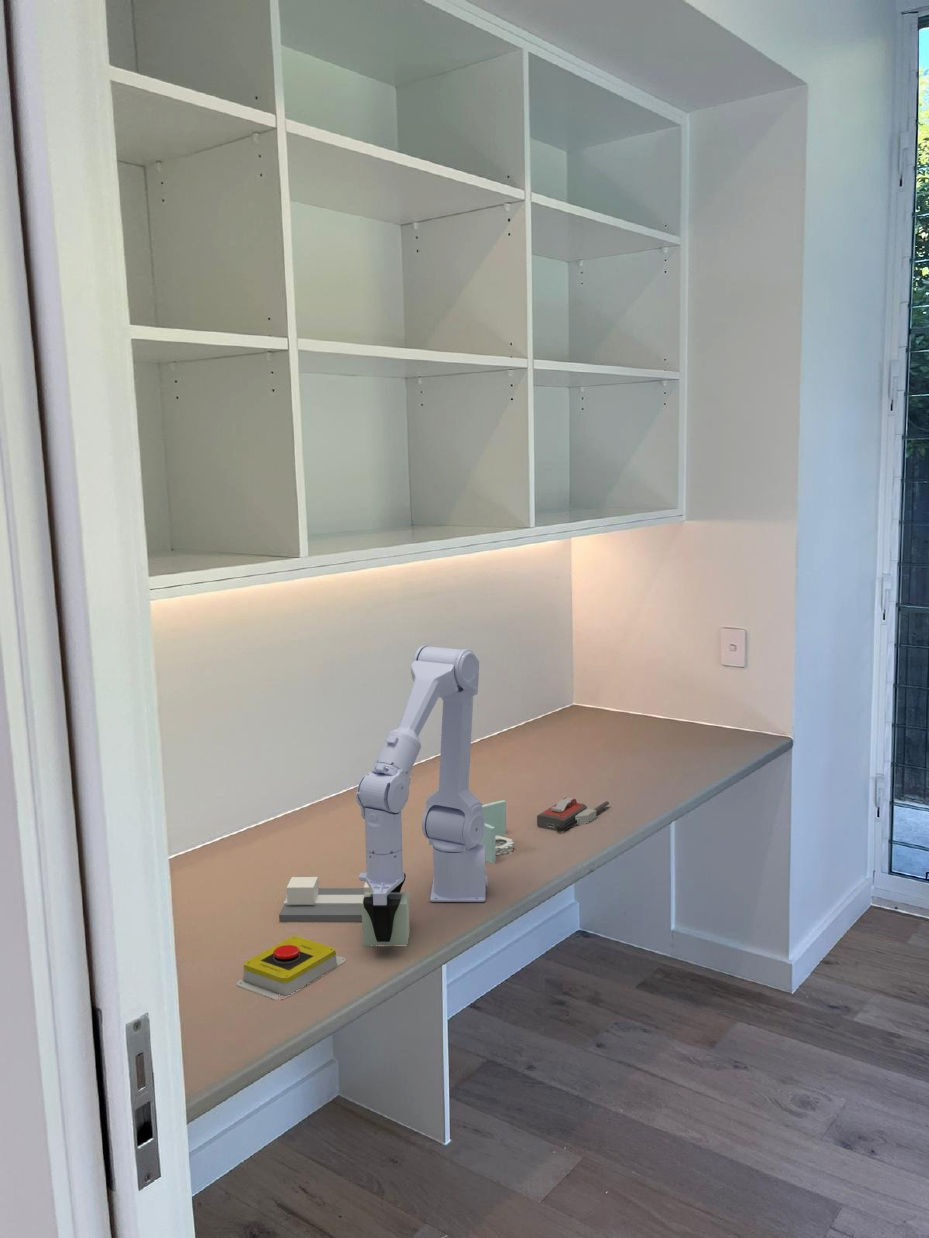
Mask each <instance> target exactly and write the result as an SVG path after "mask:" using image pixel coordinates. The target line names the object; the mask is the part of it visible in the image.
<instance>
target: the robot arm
mask: <svg viewBox="0 0 929 1238" xmlns="http://www.w3.org/2000/svg"><path fill="white" fill-rule="evenodd" d="M414 653H415V654H414V655H413V659H412V663H411V665H410V674H411V678H412V681H413V683H412V685H411V689H410V692H409V694H408V698H407V700H406V704H405V706H404V710H403V713H402V716H401V718H400V721H399V724H398V727H397V728H394V729H393V730H391V731H389V732H388V733H387V735H386V737H385V739H384V742H383V745H382V747H381V749H380V751H379V753H378V756H377V758H376V760H375V763H374V764H373V765H374V766H372V769H371V771H370V772H367V774H364V775H363V776H362V777H361V778H360V780H359V782H358V784H357V791H356V793H355V799H356V802H357V804H358V806H359V808H360V816H361V817H362V820H364V836H365V837H364V839H365V865H366V866H365V868H366V869H365V871H366V872H363V871H362V872H360V873H359V876H358V880H359V881H360V882H366V883H367V884H368V886H369V888H370V889H371V891H372V892H373V897H364V900H363V905H364V908H365V910H366V911H367V913H368V914H369V917H370V919H371V922H372V925H373V929H374V934H375V937H376V940H377V942H390V940H391V935H392V929H393V921H394V916H395V913H396V911H397V909H398V906H399V904H400V900H401V899H389V897H388V894H389V893H390V892H398V893H401V890H402V888H403V885H404V883H405V881H406V876H407V874H406V873H405V872H404V871H403V870H404V868H403V867H404V866H403V827H402V825H403V824H402V821H403V820H402V810H403V809H404V808H405V806H406V805H407V802H408V801H409V796H410V784H411V780H412V779H411V777H410V776H411V772H412V770H413V767H414V765H415V763H416V761H417V758H418V756H419V753H420V751H421V748H422V743H421V741H420V738H419V735H420V734H421V732H422V730H423V728H424V725H425V724H426V723H427V720H428V719H429V716H430V714H431V713H432V711H433V709H434V707H435V705H436V704H437V701H438V699H439V698H441V700H442V714H441V715H442V720H441V735H440V736H441V738H440V739H441V740H440V753H439V755H440V757H439V759H440V760H439V775H438V776H439V777H438V790H436V791H434V793H432V794H431V795H429V796H428V798H426V801H425V809H424V813H423V815H422V818H421V830H422V833H423V836H424V837H425V839H427V840H428V845H429V846H431V847H432V863H433V864H432V865H433V866H432V868H433V869H432V871H433V872H432V873H433V875H432V877H433V882H432V885H431V891H430V898H429V900H430V902H431V903H445V902H446V903H453V902H454V903H459V902H460V903H473V902H474V903H475V902H476V903H477V902H478V903H483V902H486V897H487V895H486V892H487V890H486V889H487V887H488V886H489V885H488V882H489V881H488V875H487V869H486V862H487V861H486V854H485V845H483V844H478V843H479V842H480V841H481V839H482V837H483V834H484V828H485V823H484V819H483V813H482V805H483V802H481V800H480V799H479V798H477V796H476V795H475V794H473V792H472V791H470V789H469V787H470V786H469V785H470V767H471V751H472V750H471V748H472V732H473V731H472V730H473V729H472V728H473V708H474V696H476V695H478V693H479V677H480V660H479V659H478V657H477V655H476V654H475V653H474V651H473V650H471V649H468V648H465V649H461V648H460V649H459V648H449V647H439V646H430V645H427V644H425V645H424V644H423V645H421V646H420V647H419V648H417V650H416V652H414Z"/></svg>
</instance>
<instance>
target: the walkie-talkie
mask: <svg viewBox="0 0 929 1238" xmlns="http://www.w3.org/2000/svg"><path fill="white" fill-rule="evenodd" d="M609 805H610V802H609V801H608V800H607V801H605V802H602V803H601V804H600V805H598V806H597V807H595V808H588V806H587V805H586V804H584V803H579V802H577V799H576V798H572V797H568V796H567V797H564V798H562V799H560V800H559V801H558V802H557V803H555V804H554V805H553V806H551V807H549V808H548V809H546V810H544V811H542V812H541V813H539V814H537V815H536V825H537V826H536V827H537V828H538V829H539V828H540V829H544V830H550V831H554V832H560V833H562V832H566V831H568V830H569V829H570V827H571V828H572V827H573V826H582V825H581V824H583V825H587V824H586V823H588V822H589V821H591V822H593V821H594V820H593V819H594V818H596V819H597V815H598V813H600V812H601V811H602V810H604V809H605V807H607V806H609ZM589 823H590V822H589ZM589 823H588V824H589ZM568 828H569V829H568ZM565 830H566V831H565Z"/></svg>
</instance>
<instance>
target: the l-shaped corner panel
mask: <svg viewBox="0 0 929 1238" xmlns="http://www.w3.org/2000/svg"><path fill="white" fill-rule="evenodd" d="M482 813H483V819H484V823H485V828H484V834H483V837H482V839H481V841H480V842H479V843H478V844H483V845H485V854H486V862H487V863H489V864H492V865H494V864H496V862H497V861H496V860H497V859H496V856H500V855H502V856H503V855H507V854H512V852H513V851H514V848H515V842H514V841H513V839H512V838H508V837H506V836H505V835H507V801H506V800H504V799H502V800H498V801H493V802H489V803H485V804H482Z"/></svg>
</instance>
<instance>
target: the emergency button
mask: <svg viewBox="0 0 929 1238" xmlns="http://www.w3.org/2000/svg"><path fill="white" fill-rule="evenodd" d="M345 961H347V959H346V957H344V956H340V955H337V954H336V949H335V948H334V947H333V946H330V945H325V944H323V943H320V942H317V941H314V940H310V939H307V938H305V937H302V936H297V935H294V936H290V937H288V938H286V939H284V940H283V941H281V942H278V943H277V944H275V945H273V946H272V947H270V948H268V949H266V950H264V951H263V952H260V953H259V954H257V955H255V956H253V957H251V958H250V959H248V960H246V961H245V962H244V963H243V977H242V978H241V979H239V980H238V981H237V982H236V987H238V988H241V989H244V990H246V991H249V992H251V993H254V994H256V993H257V994H256V995H259V994H260V995H259V996H263V997H264V996H266V997H265V998H267V997H269V998H268V999H270V998H272V999H278V996H288V995H291V993H293V992H296V990H298V989H301V988H302V987H303V986H305V985H308V983H311V982H312V983H314V982H315V981H314V980H316V979H317V980H319V979H320V978H319V977H321V976H322V975H324V976H325V974H326V973H327V972H329V973H330V972H332V971H334V970H335V969H337V968H338V966H339V965H340V966H342V965H344V964H345V963H346V962H345ZM343 963H344V964H343ZM340 966H339V967H340ZM334 968H335V969H334ZM333 969H334V970H333ZM327 974H328V973H327ZM327 974H326V975H327ZM322 977H323V976H322ZM322 977H321V978H322ZM318 978H319V979H318ZM317 980H316V981H317ZM313 981H314V982H313ZM312 983H311V984H312ZM308 986H309V985H308ZM301 990H302V989H301ZM296 993H297V992H296ZM279 994H280V995H279ZM274 996H275V997H274ZM291 996H292V995H291ZM276 997H277V998H276ZM272 999H271V1000H272ZM279 999H280V998H279ZM282 999H284V998H282ZM284 1000H285V999H284Z"/></svg>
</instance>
